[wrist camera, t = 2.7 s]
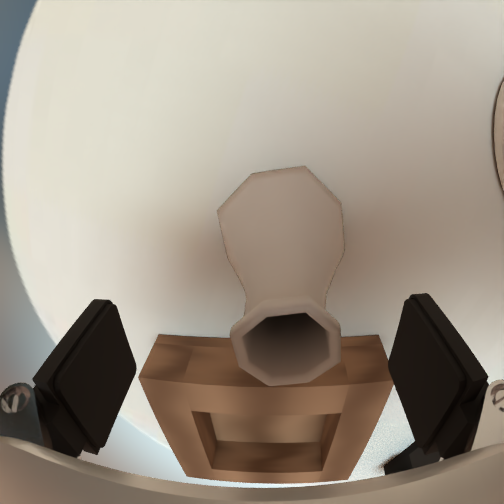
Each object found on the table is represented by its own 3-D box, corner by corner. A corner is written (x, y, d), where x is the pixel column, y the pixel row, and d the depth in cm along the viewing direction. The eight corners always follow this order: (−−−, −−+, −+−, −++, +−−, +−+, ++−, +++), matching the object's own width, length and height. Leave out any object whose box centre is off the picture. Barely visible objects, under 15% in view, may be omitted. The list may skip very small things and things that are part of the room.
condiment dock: (378, 335, 20) (395, 379, 16) (343, 444, 26) (347, 479, 22) (158, 334, 21) (138, 377, 17) (194, 442, 28) (186, 476, 24)
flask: (196, 203, 17) (115, 299, 8) (312, 143, 15) (364, 175, 6) (257, 300, 19) (241, 436, 10) (362, 254, 18) (424, 376, 9)
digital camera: (427, 423, 25) (444, 473, 19) (456, 423, 25) (473, 467, 19) (375, 466, 29) (382, 510, 23) (405, 465, 30) (414, 505, 23)
